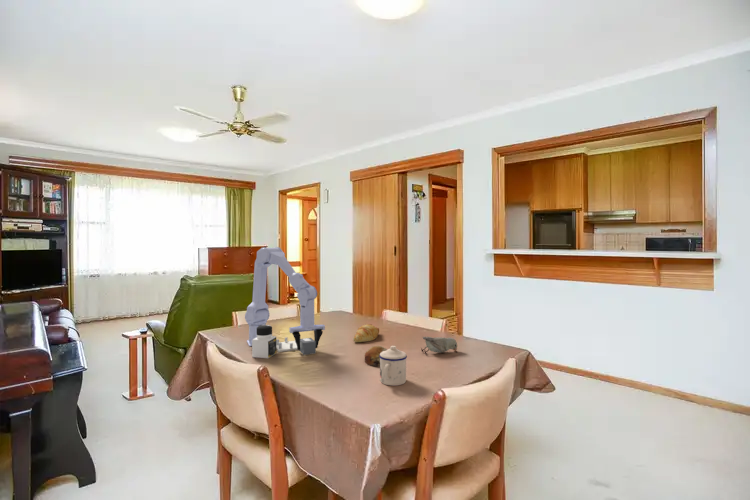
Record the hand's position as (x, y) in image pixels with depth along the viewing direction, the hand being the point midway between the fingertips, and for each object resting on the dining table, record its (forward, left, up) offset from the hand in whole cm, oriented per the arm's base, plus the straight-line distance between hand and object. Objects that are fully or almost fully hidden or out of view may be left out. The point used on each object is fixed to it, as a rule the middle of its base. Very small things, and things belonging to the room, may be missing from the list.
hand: (307, 348), depth 163 cm
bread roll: (+24, +21, -2) cm, 32 cm away
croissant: (-10, +31, -2) cm, 33 cm away
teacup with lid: (+45, +16, -2) cm, 48 cm away
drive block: (0, 0, -2) cm, 2 cm away
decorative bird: (+23, +50, -2) cm, 55 cm away
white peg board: (-11, -6, -1) cm, 12 cm away
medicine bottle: (-2, -17, -2) cm, 17 cm away
